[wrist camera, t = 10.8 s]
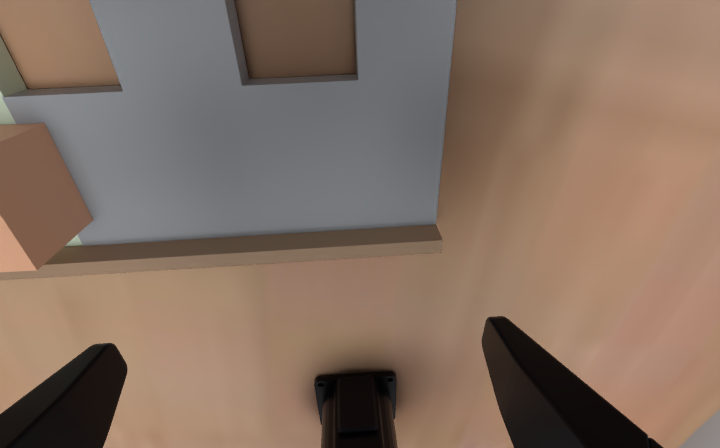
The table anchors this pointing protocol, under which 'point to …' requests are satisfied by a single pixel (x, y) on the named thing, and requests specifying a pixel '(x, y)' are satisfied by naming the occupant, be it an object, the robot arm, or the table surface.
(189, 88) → the box
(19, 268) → the terracotta block
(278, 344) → the table surface
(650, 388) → the table surface
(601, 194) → the table surface
